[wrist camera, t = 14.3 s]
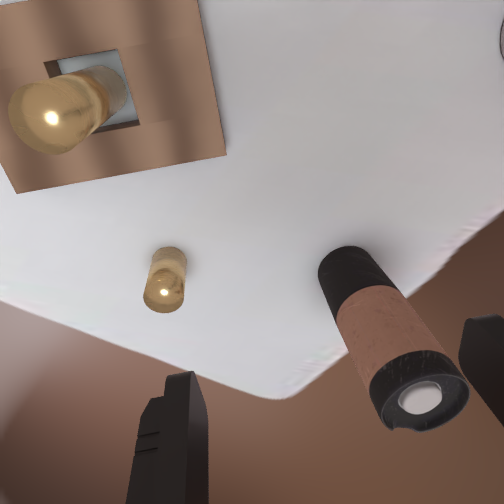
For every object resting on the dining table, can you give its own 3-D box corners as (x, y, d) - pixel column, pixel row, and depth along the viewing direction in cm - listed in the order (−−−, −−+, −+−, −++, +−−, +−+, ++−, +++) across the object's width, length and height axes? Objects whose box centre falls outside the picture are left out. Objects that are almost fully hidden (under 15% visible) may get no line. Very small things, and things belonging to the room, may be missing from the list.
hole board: (192, -23, 30) (191, -29, 27) (225, 146, 37) (226, 155, 34) (-51, 20, 30) (-75, 19, 27) (29, 183, 37) (16, 194, 34)
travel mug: (361, 233, 44) (460, 358, 27) (382, 276, 48) (481, 411, 31) (305, 263, 45) (365, 400, 28) (330, 303, 49) (396, 446, 32)
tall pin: (117, 62, 32) (65, 77, 20) (132, 109, 34) (92, 148, 22) (73, 70, 32) (-6, 89, 20) (90, 117, 34) (28, 160, 22)
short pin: (182, 244, 42) (178, 278, 36) (190, 272, 44) (187, 309, 38) (147, 250, 42) (138, 285, 36) (157, 278, 44) (150, 316, 38)
